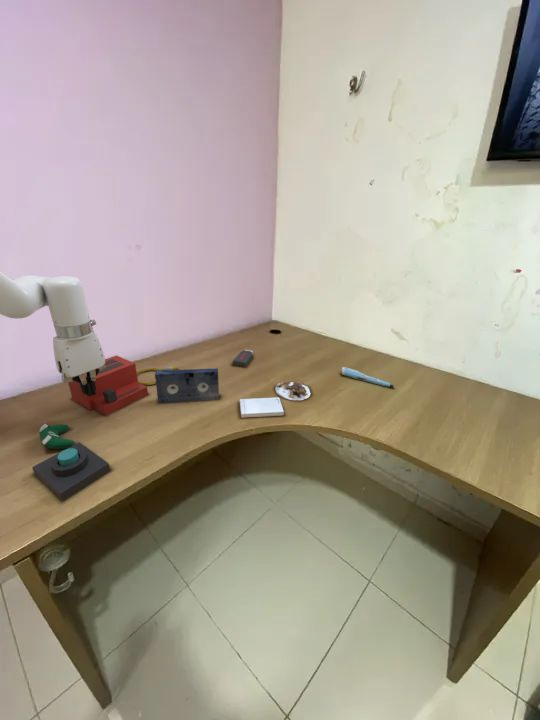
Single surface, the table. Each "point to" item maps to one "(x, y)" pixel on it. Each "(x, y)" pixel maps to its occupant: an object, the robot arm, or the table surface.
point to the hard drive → (261, 407)
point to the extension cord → (156, 370)
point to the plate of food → (292, 390)
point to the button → (68, 457)
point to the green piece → (54, 436)
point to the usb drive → (243, 358)
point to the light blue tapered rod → (363, 377)
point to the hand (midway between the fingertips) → (90, 394)
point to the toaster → (112, 386)
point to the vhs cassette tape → (187, 385)
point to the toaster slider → (110, 395)
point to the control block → (71, 472)
